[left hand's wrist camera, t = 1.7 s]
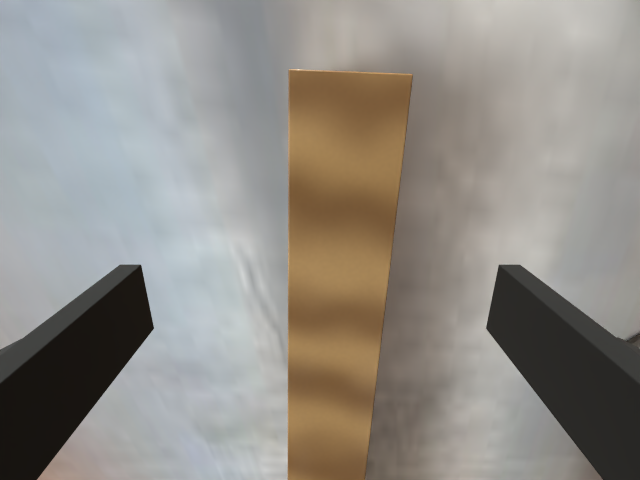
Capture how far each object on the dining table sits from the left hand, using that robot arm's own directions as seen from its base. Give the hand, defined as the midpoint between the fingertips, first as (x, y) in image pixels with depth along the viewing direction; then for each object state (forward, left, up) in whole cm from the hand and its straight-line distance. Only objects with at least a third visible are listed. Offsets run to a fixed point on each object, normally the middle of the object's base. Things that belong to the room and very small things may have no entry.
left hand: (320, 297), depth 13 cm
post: (+24, -16, -14) cm, 33 cm away
